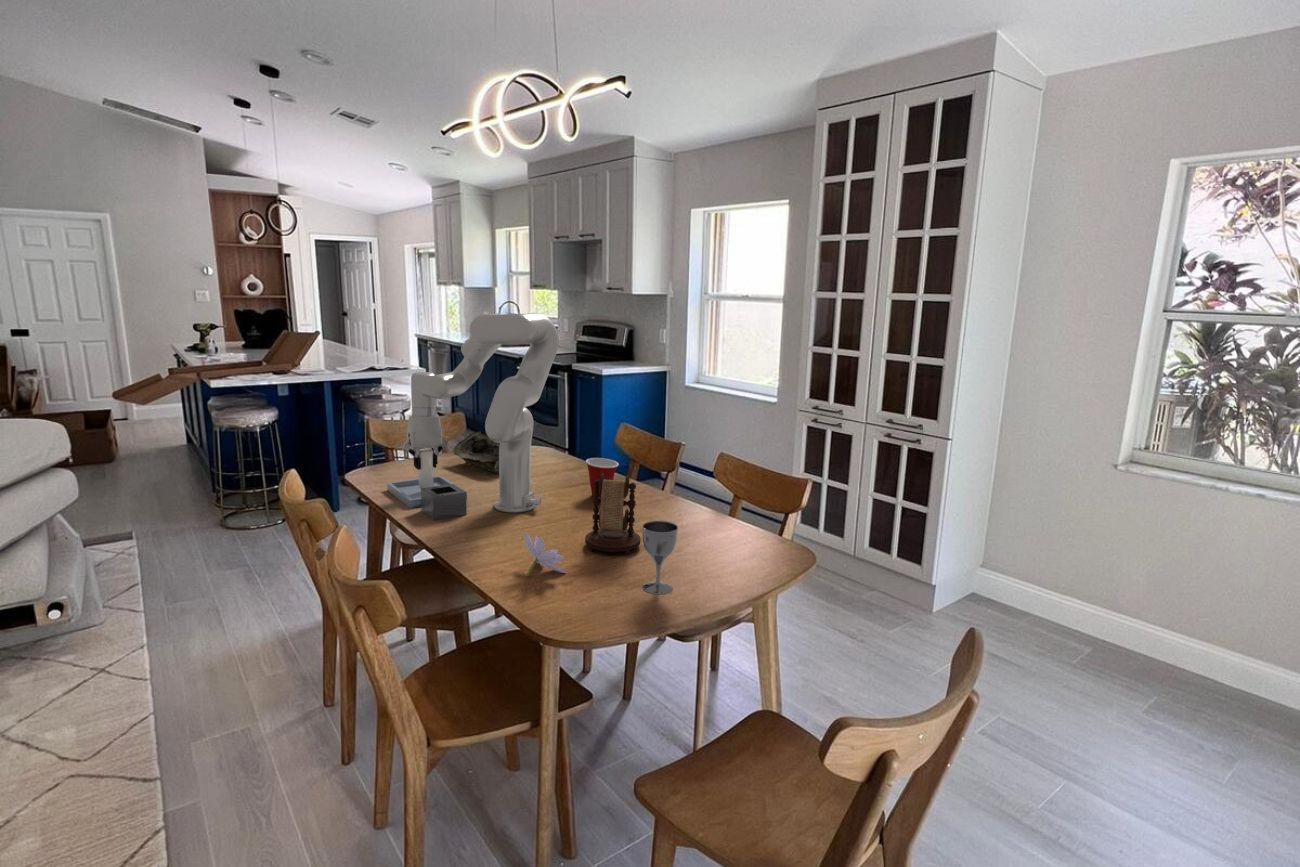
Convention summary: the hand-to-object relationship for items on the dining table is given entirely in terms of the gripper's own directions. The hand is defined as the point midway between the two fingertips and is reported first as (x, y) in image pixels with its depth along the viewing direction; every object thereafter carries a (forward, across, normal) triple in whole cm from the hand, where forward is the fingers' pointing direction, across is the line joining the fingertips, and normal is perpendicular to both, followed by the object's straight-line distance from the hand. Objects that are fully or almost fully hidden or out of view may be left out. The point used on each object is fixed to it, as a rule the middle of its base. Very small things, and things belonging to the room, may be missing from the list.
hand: (425, 467), depth 221 cm
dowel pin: (+7, 0, 0) cm, 7 cm away
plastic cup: (+9, -48, +30) cm, 57 cm away
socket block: (+9, +2, +20) cm, 22 cm away
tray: (+9, 0, 0) cm, 9 cm away
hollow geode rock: (+10, -29, -20) cm, 37 cm away
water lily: (+9, -2, +74) cm, 75 cm away
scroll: (+9, -25, +69) cm, 74 cm away
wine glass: (+9, -20, +96) cm, 99 cm away
